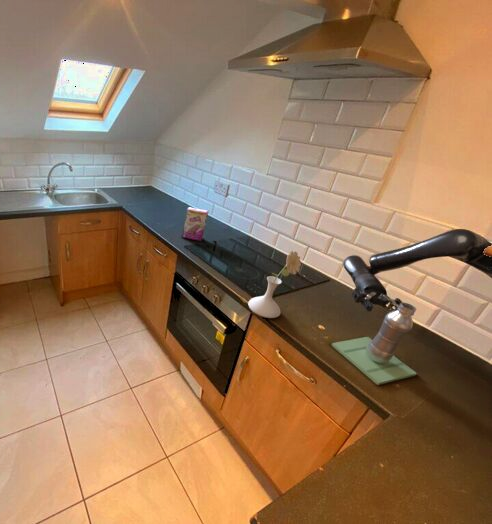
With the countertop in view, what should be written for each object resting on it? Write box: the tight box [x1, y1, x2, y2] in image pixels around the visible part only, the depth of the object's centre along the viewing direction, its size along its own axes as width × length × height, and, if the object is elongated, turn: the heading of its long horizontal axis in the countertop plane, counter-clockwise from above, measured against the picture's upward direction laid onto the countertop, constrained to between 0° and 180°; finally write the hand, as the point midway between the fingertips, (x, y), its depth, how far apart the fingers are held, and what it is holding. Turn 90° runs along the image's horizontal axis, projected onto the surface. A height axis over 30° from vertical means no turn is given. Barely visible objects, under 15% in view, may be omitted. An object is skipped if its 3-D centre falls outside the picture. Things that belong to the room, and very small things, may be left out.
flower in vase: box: [247, 250, 302, 319], centre depth 105 cm, size 13×11×25 cm
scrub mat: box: [331, 336, 418, 386], centre depth 93 cm, size 16×16×1 cm
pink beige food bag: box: [181, 206, 210, 242], centre depth 162 cm, size 11×5×16 cm, turn 74°
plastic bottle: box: [366, 301, 417, 364], centre depth 88 cm, size 6×7×20 cm
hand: (385, 313), depth 94 cm, fingers open, 8 cm apart
